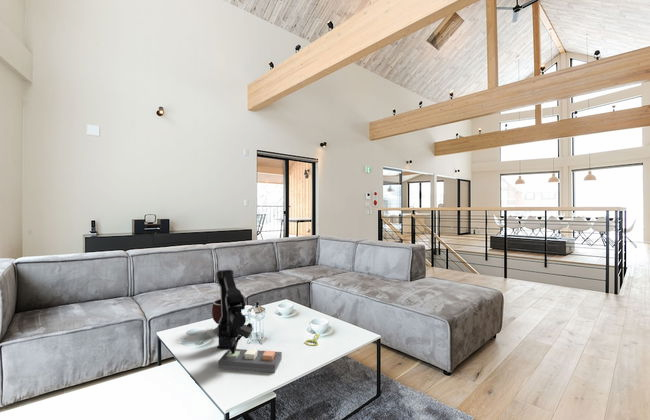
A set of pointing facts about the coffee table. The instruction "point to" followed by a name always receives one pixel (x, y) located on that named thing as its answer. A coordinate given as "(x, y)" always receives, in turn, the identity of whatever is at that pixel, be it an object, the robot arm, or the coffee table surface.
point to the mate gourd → (216, 312)
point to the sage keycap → (233, 354)
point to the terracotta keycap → (269, 355)
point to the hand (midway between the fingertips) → (233, 353)
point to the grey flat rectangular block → (250, 362)
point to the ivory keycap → (251, 354)
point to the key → (313, 341)
